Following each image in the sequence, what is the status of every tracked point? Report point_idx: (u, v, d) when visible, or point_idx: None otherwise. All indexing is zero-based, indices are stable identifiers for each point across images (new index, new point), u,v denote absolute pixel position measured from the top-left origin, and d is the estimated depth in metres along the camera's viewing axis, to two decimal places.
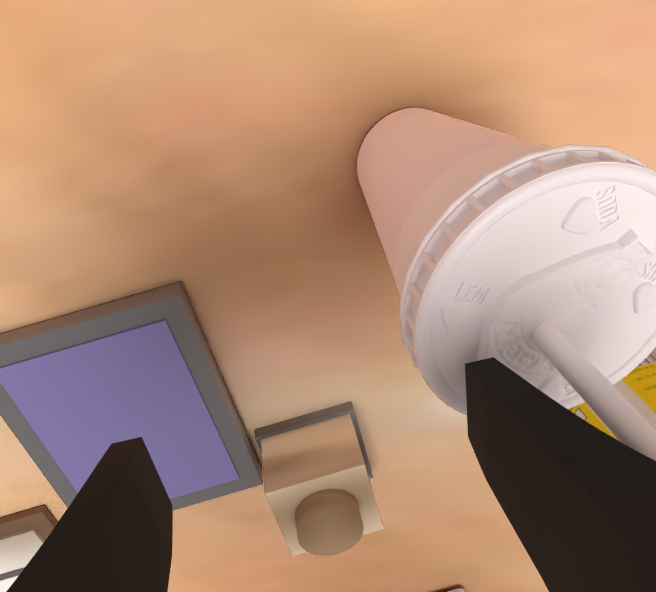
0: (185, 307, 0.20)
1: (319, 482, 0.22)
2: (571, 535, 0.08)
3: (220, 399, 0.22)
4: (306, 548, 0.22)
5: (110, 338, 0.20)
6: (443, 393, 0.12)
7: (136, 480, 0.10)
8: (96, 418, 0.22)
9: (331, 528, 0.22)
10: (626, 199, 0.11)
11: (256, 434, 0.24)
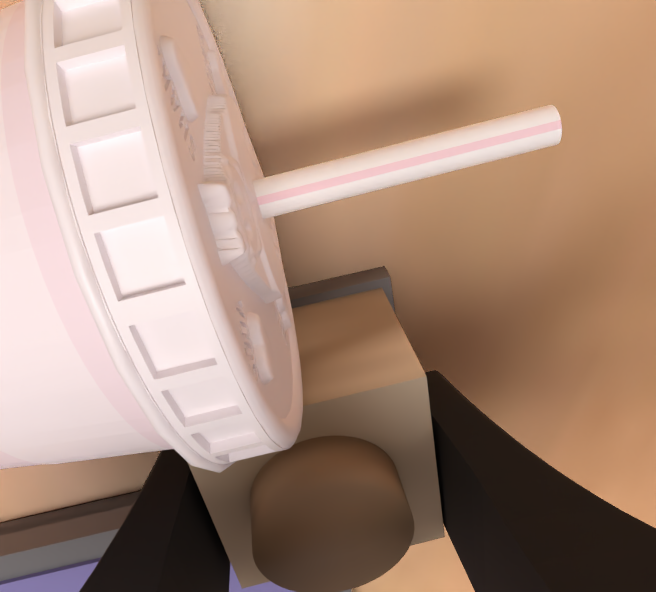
0: None
1: (224, 511, 0.10)
2: (492, 554, 0.08)
3: (111, 535, 0.13)
4: (372, 576, 0.09)
5: None
6: None
7: None
8: None
9: (318, 542, 0.09)
10: (237, 334, 0.05)
11: None
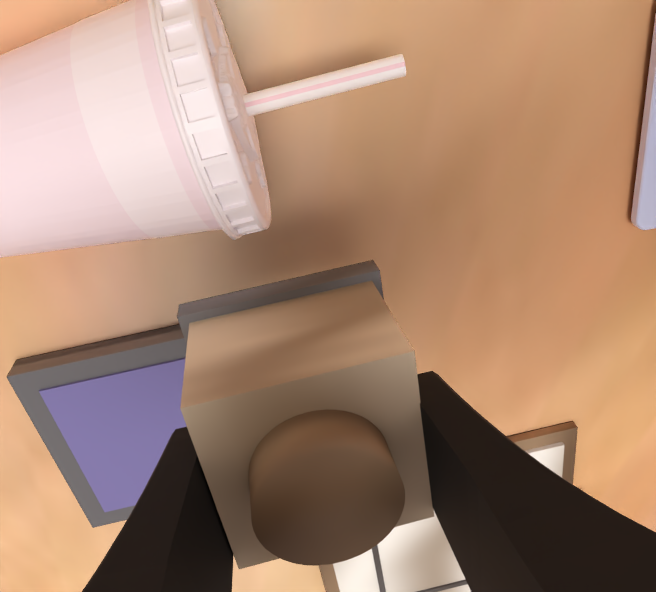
0: (26, 370, 0.19)
1: (222, 487, 0.10)
2: (488, 555, 0.08)
3: (151, 349, 0.20)
4: (365, 547, 0.10)
5: (65, 433, 0.21)
6: None
7: None
8: None
9: (314, 510, 0.09)
10: None
11: None
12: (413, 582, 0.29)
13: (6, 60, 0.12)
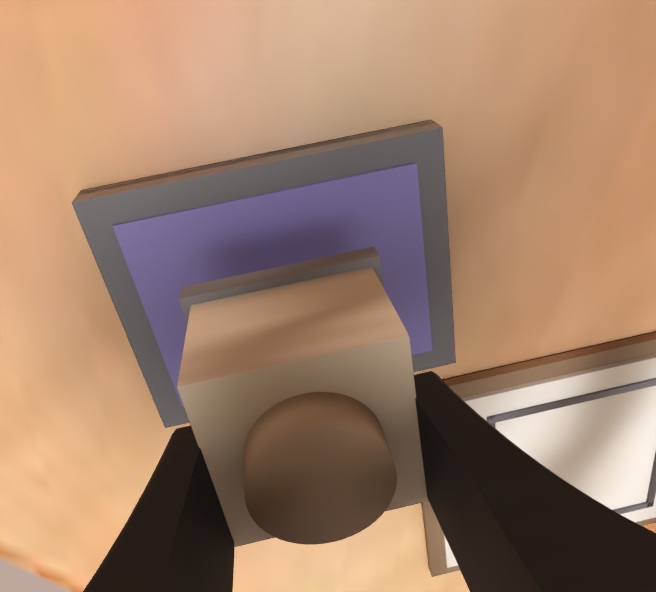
0: (97, 196, 0.15)
1: (219, 466, 0.10)
2: (487, 556, 0.08)
3: (258, 171, 0.15)
4: (357, 528, 0.10)
5: (141, 291, 0.16)
6: None
7: (205, 464, 0.10)
8: None
9: (306, 489, 0.09)
10: None
11: None
12: None
13: None
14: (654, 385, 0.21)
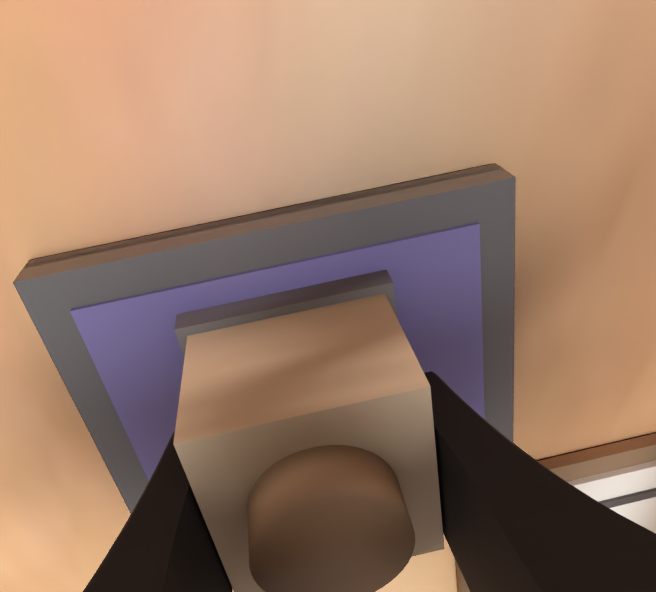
0: (48, 272, 0.11)
1: (220, 520, 0.09)
2: (487, 556, 0.08)
3: (268, 237, 0.11)
4: (370, 589, 0.09)
5: (112, 389, 0.12)
6: None
7: None
8: None
9: (316, 554, 0.09)
10: None
11: None
12: None
13: None
14: None
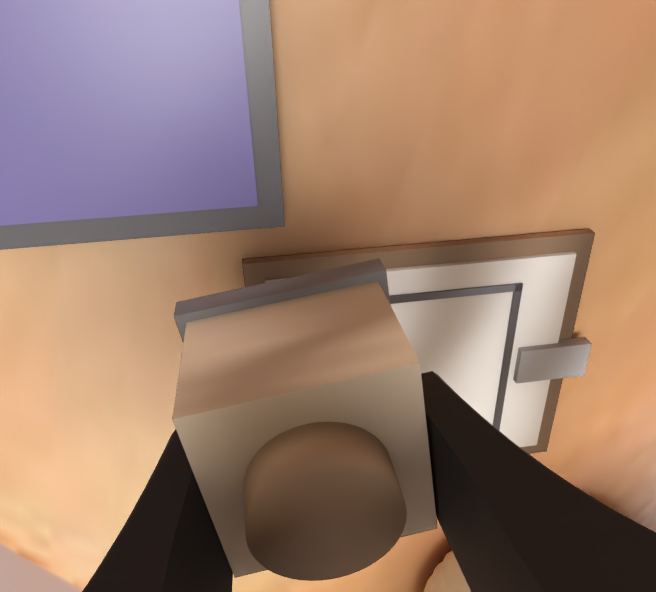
0: None
1: (218, 497, 0.10)
2: (488, 555, 0.08)
3: None
4: (364, 563, 0.09)
5: None
6: None
7: None
8: (68, 140, 0.16)
9: (311, 527, 0.09)
10: None
11: None
12: None
13: None
14: (498, 292, 0.21)
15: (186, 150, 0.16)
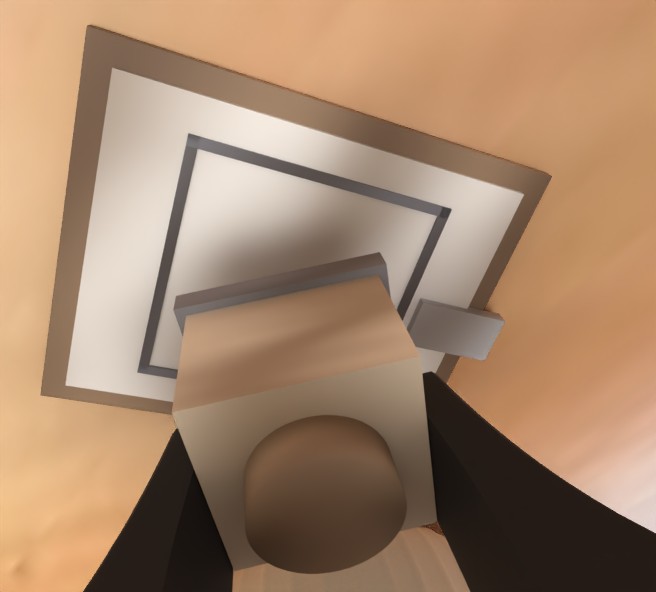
0: None
1: (217, 491, 0.10)
2: (487, 556, 0.08)
3: None
4: (364, 557, 0.09)
5: None
6: None
7: None
8: None
9: (311, 520, 0.09)
10: None
11: None
12: None
13: None
14: (418, 210, 0.16)
15: None
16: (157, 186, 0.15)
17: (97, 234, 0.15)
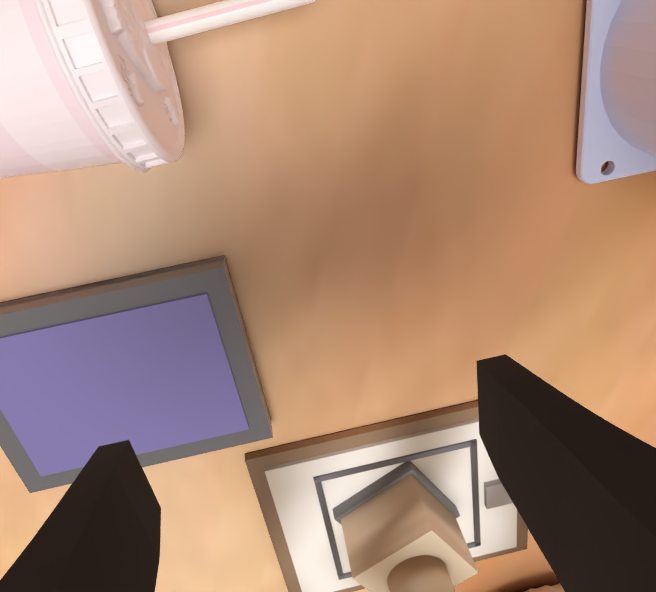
0: None
1: None
2: (587, 531, 0.08)
3: (77, 303, 0.19)
4: None
5: None
6: (169, 64, 0.16)
7: (122, 483, 0.10)
8: (101, 414, 0.21)
9: None
10: (117, 64, 0.12)
11: None
12: None
13: None
14: (457, 449, 0.26)
15: (188, 404, 0.22)
16: (308, 503, 0.26)
17: (289, 533, 0.27)
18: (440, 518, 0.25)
